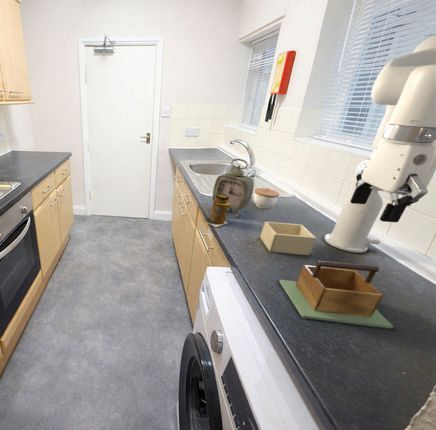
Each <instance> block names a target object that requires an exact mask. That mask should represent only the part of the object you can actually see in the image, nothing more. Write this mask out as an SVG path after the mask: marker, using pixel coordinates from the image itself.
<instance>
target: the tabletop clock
mask: <svg viewBox="0 0 436 430" xmlns="http://www.w3.org/2000/svg"><path fill="white" fill-rule="evenodd" d="M236 161H240V162H243V163H245V167H241V166H240V165H239V164H238V165H234V164H233V162H236ZM230 163H231V166H232V167H233V170H232V171H231V172H226V173H224V174H220V175H218V176H217V178H216V180H215V183H214V186H213V189H212V201H213V202H214V200H215V197H216V194H225V195H228V196H229V201H228V203H229V205H228V209H227V210H228V211H229V212H232V211H236V214H235V217H236V218H240V217H241V215H240V214H239V213H240V211H241V210H242V209H244V208H246V207H247V206H248V205H249V204H250V201H251V199H252V196H253V194H254V189H255V188H254V187H255V182H254V179H253V178H252V177H250V176H248V175H244V172H243V170H246V169H247V168H248V167H249V166H248V165H249V163H248V162H247V161H246V160H245V159H242V158H234V159H233V160H232V161H231V162H230ZM213 202H212V203H213Z"/></svg>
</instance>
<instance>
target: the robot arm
mask: <svg viewBox="0 0 436 430" xmlns="http://www.w3.org/2000/svg"><path fill="white" fill-rule="evenodd" d="M370 98H371V101H372V102H373V103H374V104H375V105H380V106H386V109H385V113H384V115H383V117H382V120H381V123H380V125H379V127H378V129H377V132H376V134H375V137H374V139H373V141H372V145H371V151H372V152H371V154H370V155H369V158H368V159H366V160H363V161H361V162H360V163H359V164H358V165H357V166H356V167H355V170H354V173H353V177H352V181H351V184H350V185H351V186H350V189H349V192H348V194H347V197H346V199H345V202H344V204H343V206H342V208H341V211H340V213H339V216H338V217H337V220H336V223H335V225H334V227H333V229H332V232H331V233H327V234H325V235H324V238H323V239H324V241H325V242H326V243H327V244H328V245H330V246H332V247H334V248H337V249H338V250H341V251H346V252H349V253H356V254H363V253H366V252H367V251H368V249H369V247H368V245H371V244H372V245H379V244H380V243H381V240H380V239H379V238H372V236H370V235H369V234H370V232H371V231H372V228H373V226H374V224H375V222H376V221H377V218H378V216H379V214H380V212H381V210H382V208H383V205H384V201H383V198H382V197H381V194H380V193H379V192H386V193H388V194H389V197H390V198H389V199H390V202H387V204H386V205H385V207H384V209H383V211H382V214H381V215H380V217H379V221H381V222H383V223H385V222H386V223H398V222H399V221H400V220H401V217H402V216H403V215H404V212H405V210H406V208H407V207H411V206H412V205H413V204H415V203H417V202H419V201H420V199H422V198H423V197H424V196H426V195H427V194H428V193H429V190H428V189H427V188H428V186H429V185H430V183H431V181H432V179H433V176H434V174H435V173H436V35H433V36H431V37H428V38H427V39H425V40H424V41H422V42H420V43H419V44H418V45H417V46H416V47H415V48H414V50H413V51H412V53H408V54H405V55H401V56H399V57H396V58H393V59H391V60H389V62H387V63H386V64H385V65H384V66H383V68H382V69H381V70H380V72H379V73H378V75H377V77H376V79H375V81H374V83H373V85H372V88H371V91H370ZM399 195H400V196H401V197H399Z"/></svg>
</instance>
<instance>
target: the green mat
mask: <svg viewBox="0 0 436 430" xmlns="http://www.w3.org/2000/svg"><path fill="white" fill-rule="evenodd" d="M278 283H279V284H280V285H281V287H282V289H283V290H284V291H285V293H286V294H287V296H288V298H289V299H290V301H291V302H292V304H293V305H294V308H295V309H296V310H297V312H298V314H299V315H300V316H301V318H303V319H310V320H316V321H317V320H319V321H327V322H334V323H343V324H349V325H350V324H351V325H358V326H367V327H374V328H383V329H393V328H394V325H393V324H392V323H391V322H390V321H389V320H388V319H387V318H386V317H384V315H383V314H382V313H380V311H378V309H376V310H375V312H374V313H373V315H372V317H371V318H370V317H362V316H354V315H345V314H337V313H329V312H320V311H314V310H313V308H312V307H311V306H310V304H309V303H308V302H307V300H306V299H305V297H304V296H303V295H302V293H301V292H300V290H299V289H298V288H297V286H296V283H297V280H288V279H279V282H278Z"/></svg>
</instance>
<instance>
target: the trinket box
mask: <svg viewBox="0 0 436 430" xmlns="http://www.w3.org/2000/svg"><path fill="white" fill-rule="evenodd" d="M252 196H253V197H252V199H253V203H254V204H255V206H256V207H257V208H259V209H265V210H268V209H270V208H272V207H274V205H276V203H277V201H278V199H279V196H280V192H279V191H277V190H274V189H271V188H269V187H266V188H265V187H257V188H254V189H253V194H252Z"/></svg>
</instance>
